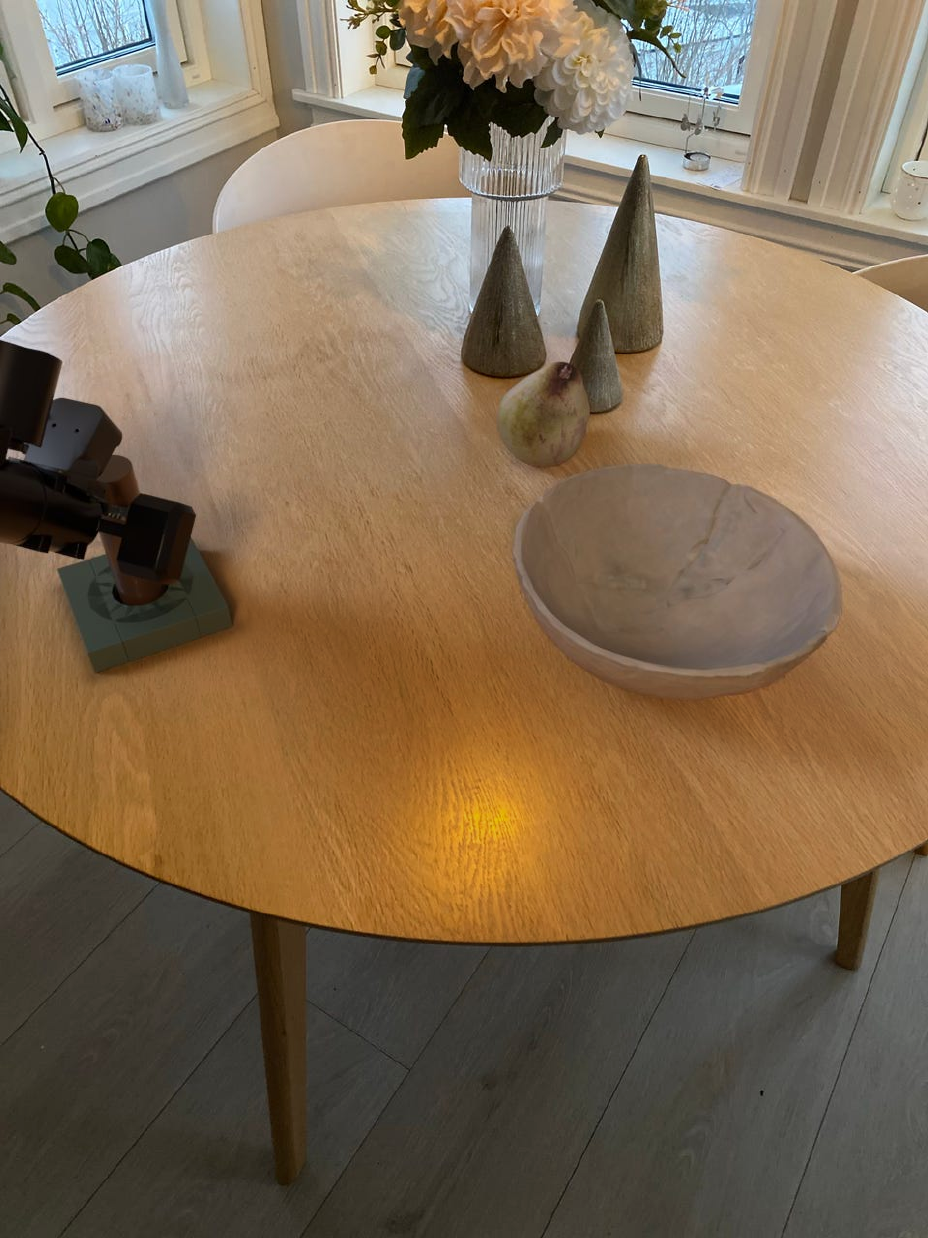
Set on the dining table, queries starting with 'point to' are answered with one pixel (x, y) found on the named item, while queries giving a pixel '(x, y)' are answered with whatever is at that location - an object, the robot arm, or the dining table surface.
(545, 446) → the fruit
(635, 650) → the bowl
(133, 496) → the dowel
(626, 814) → the dining table surface
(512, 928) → the dining table surface
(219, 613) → the board
